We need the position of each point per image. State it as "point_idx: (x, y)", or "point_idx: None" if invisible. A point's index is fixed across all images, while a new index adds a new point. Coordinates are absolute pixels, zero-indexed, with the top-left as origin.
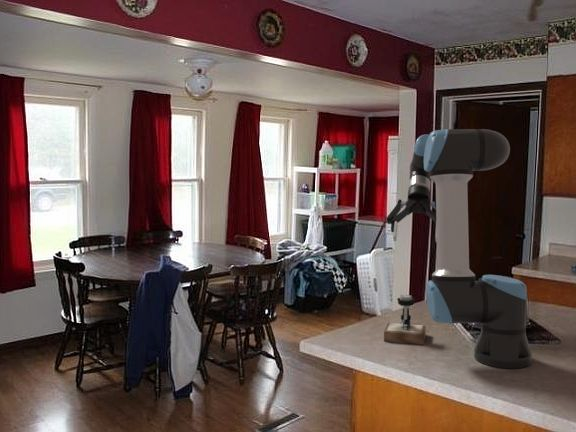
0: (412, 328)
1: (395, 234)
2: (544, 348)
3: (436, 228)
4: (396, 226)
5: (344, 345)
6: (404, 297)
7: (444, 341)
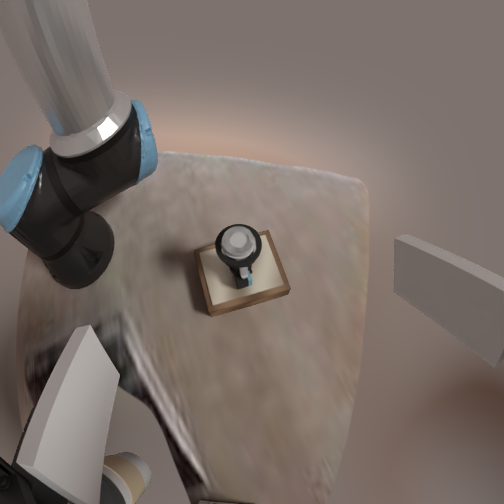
0: (224, 271)
1: (406, 241)
2: (37, 329)
3: (54, 391)
4: (468, 272)
5: (310, 193)
6: (236, 226)
7: (167, 293)
